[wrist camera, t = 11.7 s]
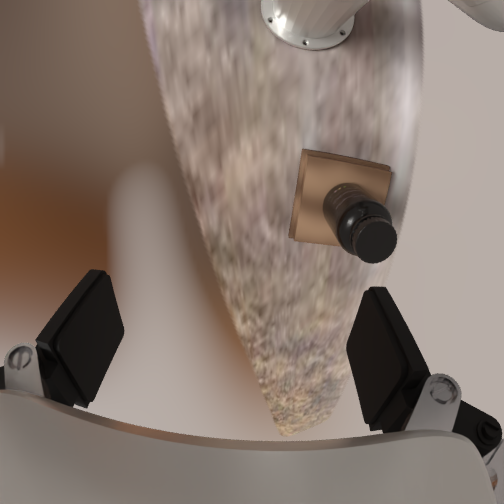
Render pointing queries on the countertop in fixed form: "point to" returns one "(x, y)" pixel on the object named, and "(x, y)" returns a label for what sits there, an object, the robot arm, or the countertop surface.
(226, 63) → the countertop surface
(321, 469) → the robot arm
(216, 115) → the countertop surface
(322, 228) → the walnut pedestal
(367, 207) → the supplement bottle
